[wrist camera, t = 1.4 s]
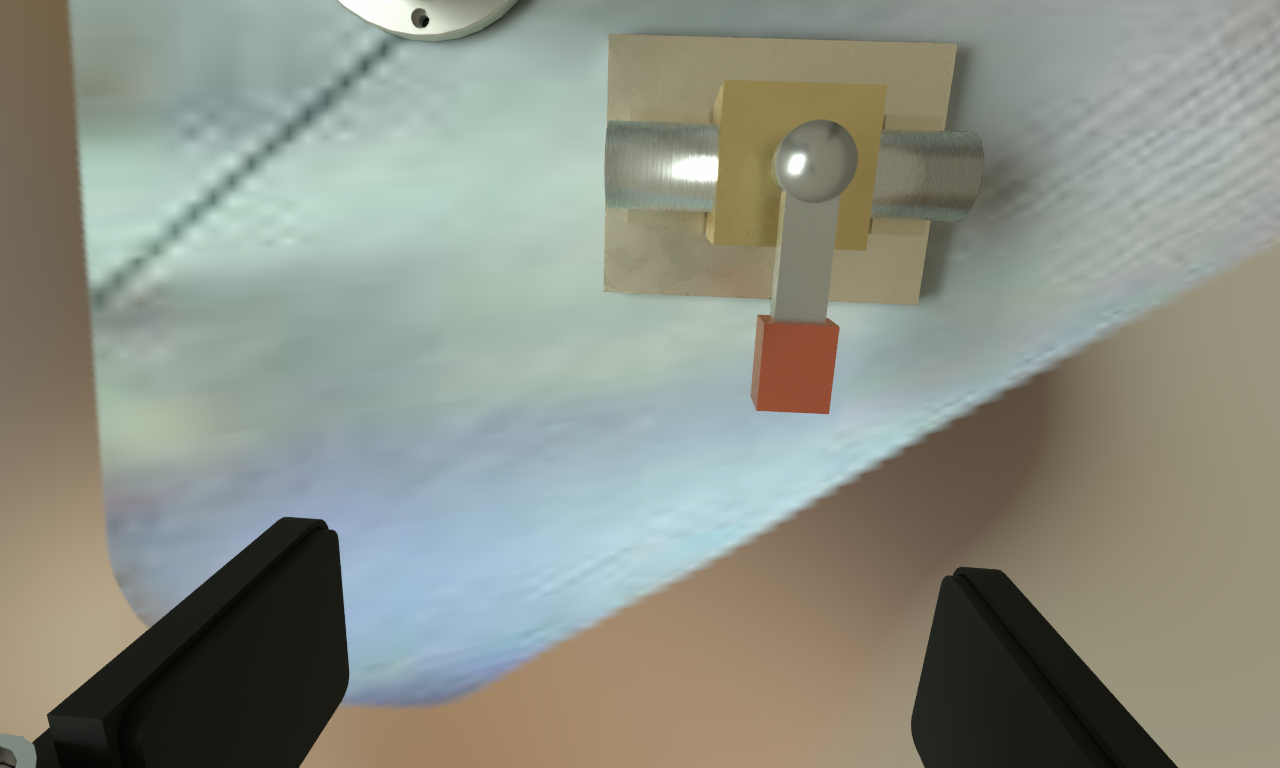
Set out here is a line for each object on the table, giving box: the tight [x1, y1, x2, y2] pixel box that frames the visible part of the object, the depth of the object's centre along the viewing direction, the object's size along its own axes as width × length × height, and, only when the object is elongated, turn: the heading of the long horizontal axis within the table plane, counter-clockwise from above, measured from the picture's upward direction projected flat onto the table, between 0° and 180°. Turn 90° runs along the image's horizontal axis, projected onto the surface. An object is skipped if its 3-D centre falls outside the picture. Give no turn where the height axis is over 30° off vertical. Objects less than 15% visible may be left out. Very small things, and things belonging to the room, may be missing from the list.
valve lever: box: [751, 119, 858, 414], centre depth 23 cm, size 10×3×2 cm, turn 178°
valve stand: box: [604, 34, 984, 305], centre depth 28 cm, size 12×16×10 cm
